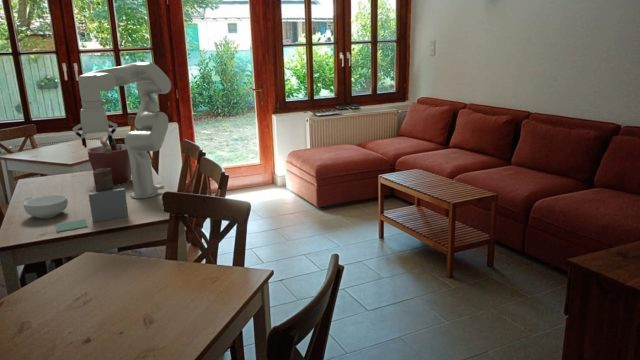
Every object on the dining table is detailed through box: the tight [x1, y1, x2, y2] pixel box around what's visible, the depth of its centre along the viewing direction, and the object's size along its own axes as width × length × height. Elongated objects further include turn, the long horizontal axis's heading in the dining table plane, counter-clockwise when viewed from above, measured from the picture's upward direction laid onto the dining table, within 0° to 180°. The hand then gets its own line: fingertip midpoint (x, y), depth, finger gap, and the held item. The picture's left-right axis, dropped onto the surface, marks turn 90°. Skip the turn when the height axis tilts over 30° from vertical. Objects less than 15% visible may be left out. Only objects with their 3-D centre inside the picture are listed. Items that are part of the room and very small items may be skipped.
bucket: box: [87, 135, 132, 186], centre depth 266 cm, size 24×22×25 cm
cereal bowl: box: [23, 194, 69, 219], centre depth 216 cm, size 17×17×7 cm
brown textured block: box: [92, 168, 115, 192], centre depth 215 cm, size 8×7×20 cm
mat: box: [55, 218, 89, 233], centre depth 203 cm, size 11×10×1 cm
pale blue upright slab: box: [87, 187, 129, 223], centre depth 209 cm, size 14×2×12 cm, turn 119°
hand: (98, 146), depth 210 cm, fingers open, 9 cm apart
